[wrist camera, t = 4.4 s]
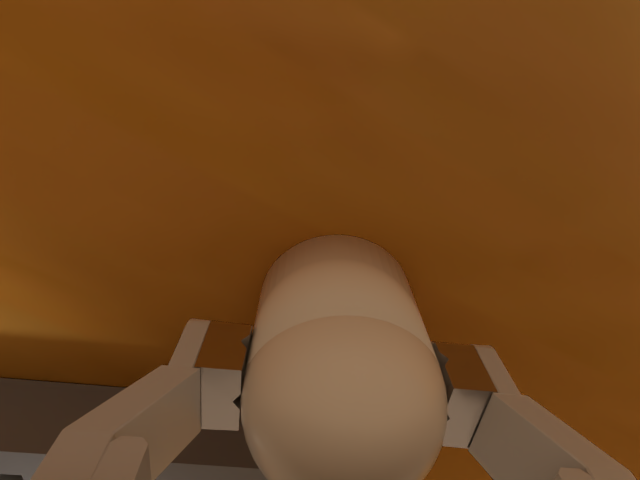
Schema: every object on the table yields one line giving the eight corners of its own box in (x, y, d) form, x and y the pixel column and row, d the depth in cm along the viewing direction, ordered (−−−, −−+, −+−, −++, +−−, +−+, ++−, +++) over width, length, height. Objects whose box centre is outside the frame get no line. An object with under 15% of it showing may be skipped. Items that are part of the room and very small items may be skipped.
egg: (424, 243, 11) (517, 419, 6) (392, 363, 13) (443, 572, 8) (266, 226, 11) (223, 395, 6) (257, 351, 13) (219, 561, 8)
